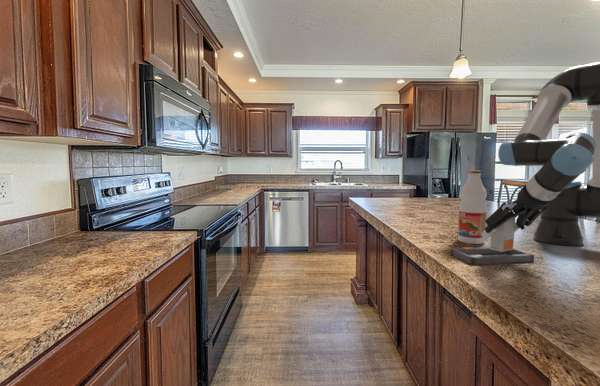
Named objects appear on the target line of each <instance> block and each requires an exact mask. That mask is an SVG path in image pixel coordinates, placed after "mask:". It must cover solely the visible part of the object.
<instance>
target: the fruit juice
mask: <svg viewBox="0 0 600 386" xmlns="http://www.w3.org/2000/svg"><path fill="white" fill-rule="evenodd" d="M466 174H467V179H466V180H465V184H464V185H463V186H462V188H461V190H460V192H459V195H460V198H461V201H460V202H459V205H458V206H459V208H458V210H459V211H458V230H457V231H458V237H457V238H458V241H459V242H460V243H463V244H464V243H465V244H469V245H482V244H485V241H486V240H484V238H483V236H482V234H481V233H482V232H483V231H484V230H485V228H486V227H487V224H486V222H485V220H487V204H486V199H487V196H488V195H487V194H488V192H487V189H486V188H485V186H484V185H483V182H482V179H481V175H482V170H480V169H479V170H478V169H477V170H475V169H474V170H473V169H472V170H470V169H469V170H467V171H466Z"/></svg>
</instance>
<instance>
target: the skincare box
mask: <svg viewBox="0 0 600 386" xmlns="http://www.w3.org/2000/svg"><path fill="white" fill-rule="evenodd" d="M515 222H516V217H515V218H514V217H512V218H511V219H509V220H508V221H506V222H505V223H503V224H502V225H500V226H498V227H497V230H496V231H495V232H494V233H493V234H492V235H491V236H490V238H489V239H490V241H489V243H490V244H489V247H490V249H492V250H496V251H500V252H504V251H509V250H513V248H514V241H515V239H514V238H515V233H514V228H515Z"/></svg>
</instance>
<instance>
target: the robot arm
mask: <svg viewBox="0 0 600 386" xmlns="http://www.w3.org/2000/svg"><path fill="white" fill-rule="evenodd" d="M536 98H537V100H536V101H537V102H536V103H535V105H534V107H533V108H532V110H531V112H530V114H529V115H528V117H527V118H526V120H525V122H524V123H523V125H522V126H521V128H520V130H519V132H518V133H517V135H516V136H515V138H514V140H513V141H512V140H508V141H504V142H502V143H501V144H500V145H499V149H498V154H497V155H498V160H499V162H500V164H502V165H504V166H512V167H513V166H515V167H520V166H523V167H524V166H525V167H526V166H527V167H528V166H541V168H540V169H538V171H537V172H536V173H535V174H534V175H533V176H532V177H531V178H530V179H529V180H528V181H527V182H526V184H525V185H523V187H522V188H521V189H520V190H519V191H518V192H517V196H516V199H515V200H513V201H512V202H511V203H508V204H507V202H502V203H501V204H500V206H499V207H498V208H497V209H496V210H495V211H494V212H493V213H491V215H490V216H489V217H488V218H486V220H485V222H486V228H485V230H484V231H483V232H482V233H481V234H482V236H483V238H484V240H485V241H488V240H489V239H490V238H491V235H492V234H493V233H494V232H495V231H496V230H497V227H498V226H500V225H502V224H503V223H505V222H506V221H508V220H509V219H511V218H512V217H514V218H515V228H514V234H515V233H516V232H517V231H518V230H519V229H520V230H522V231H523V230H525V229H526V227H529V226H530V227H531V225H532V224H533V222H535V220H536V219H537V218H538V217H539V216H540V218H539V222H538V225H537V227H536V230H535V231H534V232H533V239H534V240H535V241H538V242H541V243H544V244H551V245H558V246H570V247H571V246H573V247H575V246H582V245H584V237H583V236H582V235H583V234H582V230H581V228H580V224H579V219H580V217H581V218H591V219H600V61H597V62H592V63H588V64H583V65H576V66H573V67H570V68H567V69H566V70H564V71H562V72H560V73H558V74H556V75H555V76H554V77H553V78H551V79H550V80H549V81H547V83H546V84H544V86H542V88H541V89H540V91H539V93H538V94H537V97H536ZM579 101H581V102H582V101H586V105H587V107H589V108H590V109H591V110H592V135H590V134H588V133H586V132H574V133H571V134H569V135H567V136H566V137H565V138H553V139H547V137H548V136H549V135H550V134H549V133H551V130H552V129H553V127H554V125H555V123H556V122H557V120H558V118H559V116H560V114H561V112H562V110H563V109H565V108H566V107H567V106H569V104H570V103H574V102H579ZM591 165H592V176H591V178H590V179H589V180H587V181H586V185H582V184H583V183H582V182H581V181H575V180H576V179H577V178H578V177H580V176H581V175H582V174H584V173H585V172H587V169H589V167H590V166H591ZM525 226H526V227H525Z"/></svg>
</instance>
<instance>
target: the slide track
mask: <svg viewBox="0 0 600 386" xmlns="http://www.w3.org/2000/svg"><path fill="white" fill-rule="evenodd" d="M499 254H500V255H499ZM450 255H451V256H453V257H454V258H457V259H459V260H461V261H464V262H466V263H468V264H470V265H472V266H473V265H486V264H487V265H489V264H490V265H491V264H511V263H528V262H530V261H531V262H535V254H532V253H529V252H526V251H523V250H520V249H517V248H514V247H513V250H509V251H504V252H500V251H496V250H492V249H490V246H488V247H487V246H484V247H483V246H482V247H471V246H466V247H464V246H463V247H461V248H460V247H459V248H450ZM531 262H530V263H531Z"/></svg>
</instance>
